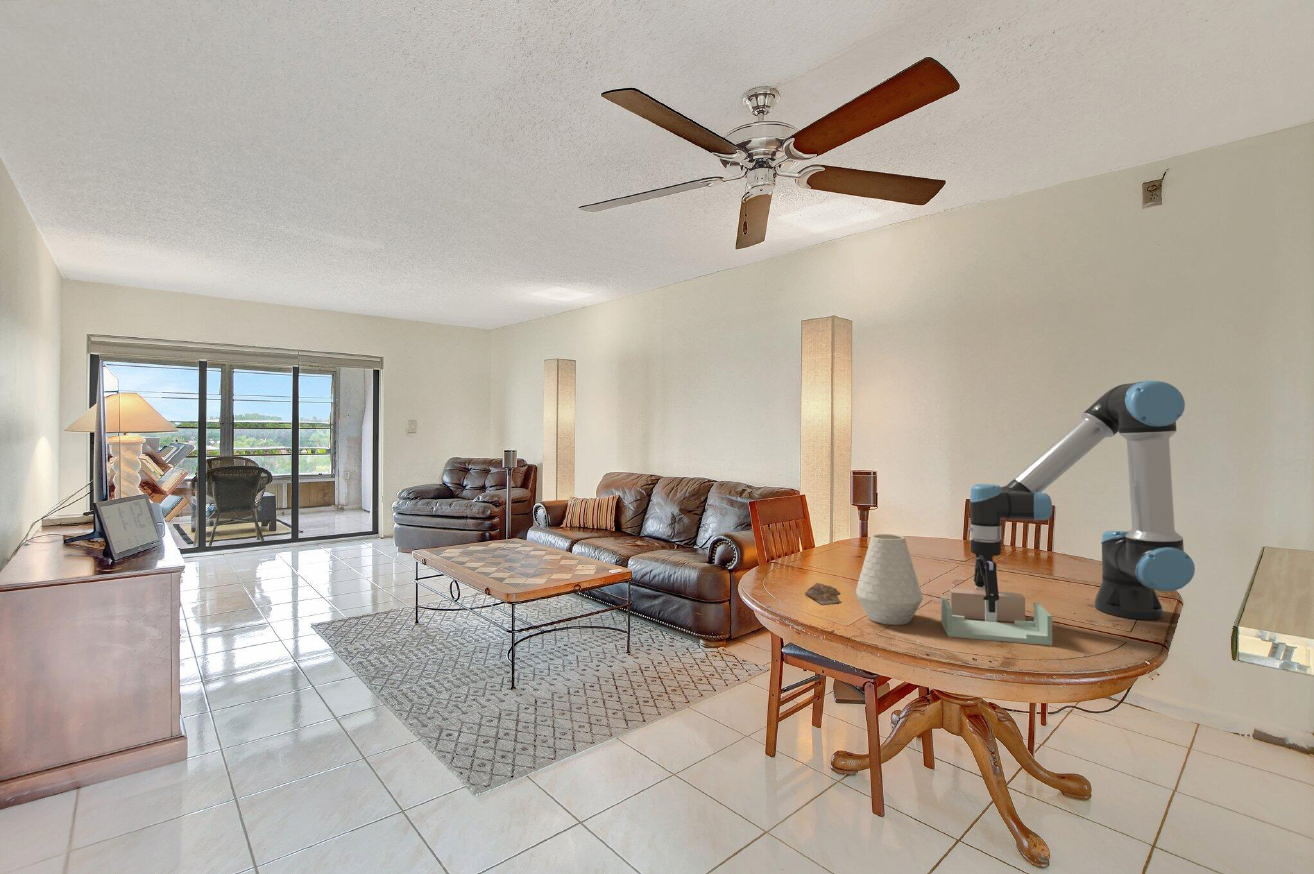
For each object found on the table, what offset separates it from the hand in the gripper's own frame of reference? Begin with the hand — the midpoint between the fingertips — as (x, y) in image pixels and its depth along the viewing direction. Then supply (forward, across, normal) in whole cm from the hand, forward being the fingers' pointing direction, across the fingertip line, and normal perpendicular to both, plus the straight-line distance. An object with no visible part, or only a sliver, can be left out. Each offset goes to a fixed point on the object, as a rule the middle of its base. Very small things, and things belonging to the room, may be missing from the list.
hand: (985, 616), depth 165 cm
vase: (+1, +9, -26) cm, 27 cm away
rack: (0, +14, -1) cm, 14 cm away
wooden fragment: (+1, -12, -45) cm, 47 cm away
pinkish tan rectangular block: (0, 0, 0) cm, 0 cm away
